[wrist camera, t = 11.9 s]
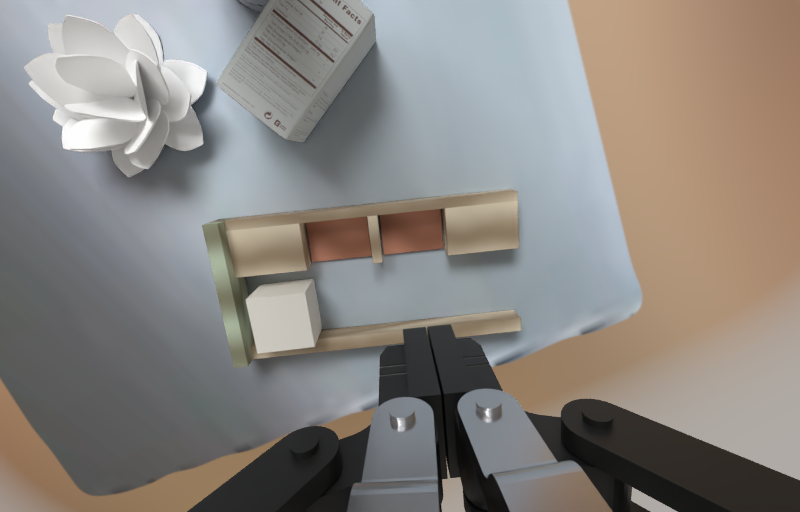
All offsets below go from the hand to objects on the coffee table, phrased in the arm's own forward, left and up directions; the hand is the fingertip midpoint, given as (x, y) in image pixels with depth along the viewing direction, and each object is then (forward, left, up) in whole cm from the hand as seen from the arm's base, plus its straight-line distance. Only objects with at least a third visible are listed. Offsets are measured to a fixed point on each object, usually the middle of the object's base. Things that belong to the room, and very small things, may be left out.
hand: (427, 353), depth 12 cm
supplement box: (-11, -12, -28) cm, 32 cm away
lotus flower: (-14, -24, -32) cm, 42 cm away
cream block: (+9, -13, -31) cm, 35 cm away
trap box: (+8, -4, -31) cm, 33 cm away
